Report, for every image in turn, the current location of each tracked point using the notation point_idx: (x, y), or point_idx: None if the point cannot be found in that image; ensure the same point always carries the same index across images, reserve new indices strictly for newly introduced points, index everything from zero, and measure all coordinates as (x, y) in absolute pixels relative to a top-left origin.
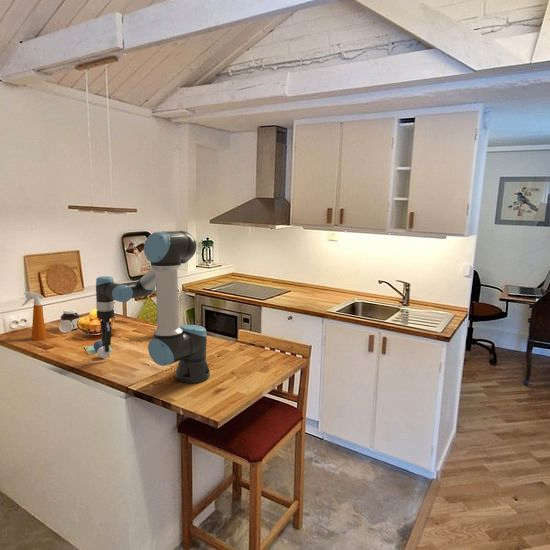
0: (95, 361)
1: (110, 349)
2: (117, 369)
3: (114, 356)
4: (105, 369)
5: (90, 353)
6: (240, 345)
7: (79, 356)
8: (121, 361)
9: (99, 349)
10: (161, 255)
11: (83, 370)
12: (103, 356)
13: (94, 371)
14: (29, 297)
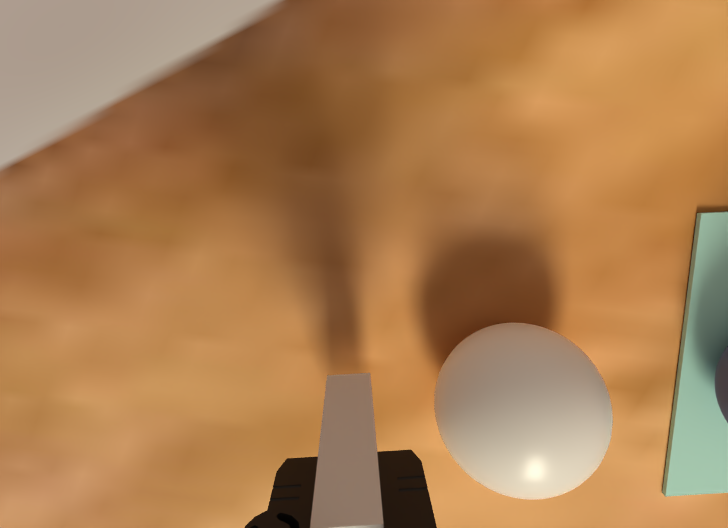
0: (408, 268)
1: (722, 475)
2: (53, 449)
3: None
4: (92, 337)
5: (717, 248)
6: None
7: (696, 101)
8: None
9: (522, 387)
10: None
11: (141, 89)
12: (344, 387)
13: (63, 213)
14: None
